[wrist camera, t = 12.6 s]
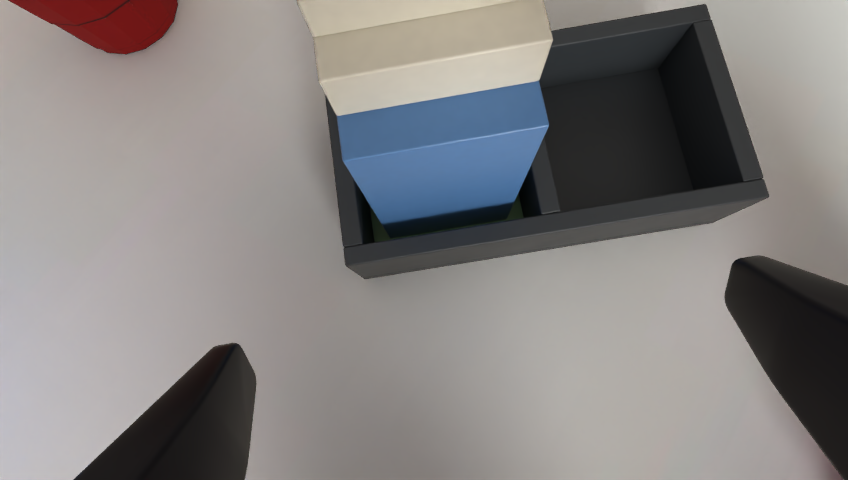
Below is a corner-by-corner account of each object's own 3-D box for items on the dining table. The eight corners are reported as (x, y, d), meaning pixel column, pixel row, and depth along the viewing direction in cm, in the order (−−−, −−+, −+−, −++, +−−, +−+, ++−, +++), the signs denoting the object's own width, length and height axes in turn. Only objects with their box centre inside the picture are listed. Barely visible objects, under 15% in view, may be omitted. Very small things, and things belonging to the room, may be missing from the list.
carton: (507, 219, 22) (581, 58, 9) (389, 238, 22) (308, 107, 9) (485, 111, 23) (524, -159, 11) (374, 130, 23) (282, -114, 11)
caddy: (712, 222, 22) (770, 197, 18) (364, 279, 22) (345, 266, 18) (663, 59, 24) (706, 2, 20) (343, 114, 24) (321, 70, 20)
